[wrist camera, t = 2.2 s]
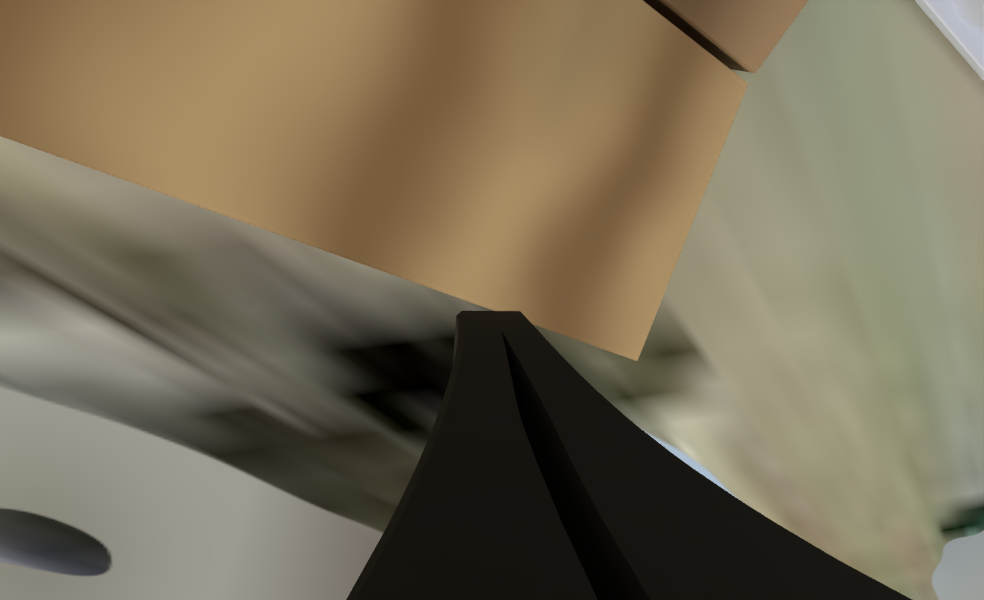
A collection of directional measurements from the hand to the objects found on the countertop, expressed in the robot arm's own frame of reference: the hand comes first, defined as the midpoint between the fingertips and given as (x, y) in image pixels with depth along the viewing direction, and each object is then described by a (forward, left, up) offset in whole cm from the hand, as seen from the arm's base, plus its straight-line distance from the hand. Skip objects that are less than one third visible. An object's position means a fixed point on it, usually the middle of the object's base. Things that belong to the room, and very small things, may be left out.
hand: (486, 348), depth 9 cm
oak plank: (+2, -3, -7) cm, 8 cm away
